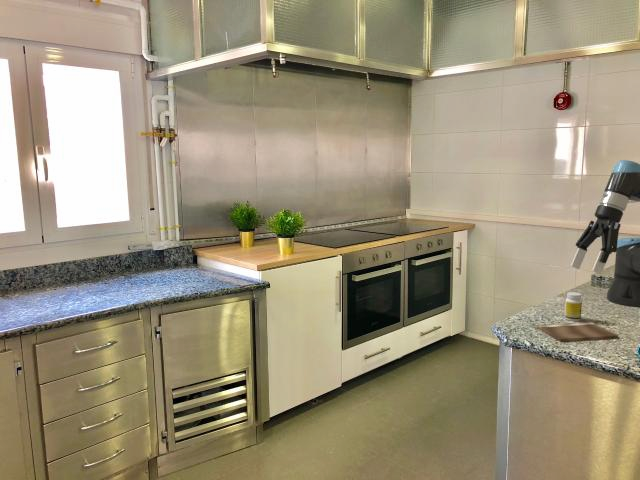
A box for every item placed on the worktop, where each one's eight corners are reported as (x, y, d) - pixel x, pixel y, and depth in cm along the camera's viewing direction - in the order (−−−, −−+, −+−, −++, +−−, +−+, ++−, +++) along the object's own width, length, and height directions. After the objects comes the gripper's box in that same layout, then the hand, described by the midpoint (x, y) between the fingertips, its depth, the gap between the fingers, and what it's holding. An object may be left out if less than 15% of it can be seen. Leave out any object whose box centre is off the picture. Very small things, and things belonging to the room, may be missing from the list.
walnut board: (590, 324, 160) (590, 321, 160) (617, 338, 148) (618, 335, 148) (536, 327, 157) (536, 324, 157) (560, 341, 145) (560, 338, 145)
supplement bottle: (582, 321, 162) (584, 296, 161) (566, 320, 163) (568, 295, 162) (578, 317, 167) (580, 292, 166) (562, 316, 168) (564, 291, 167)
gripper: (580, 204, 176) (556, 261, 177) (623, 203, 151) (595, 269, 153) (600, 212, 177) (576, 269, 178) (646, 212, 152) (618, 279, 153)
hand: (585, 270), depth 165 cm, fingers open, 13 cm apart
